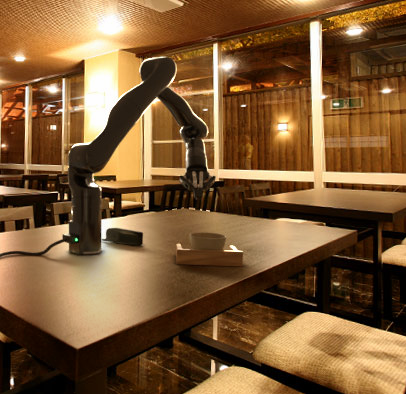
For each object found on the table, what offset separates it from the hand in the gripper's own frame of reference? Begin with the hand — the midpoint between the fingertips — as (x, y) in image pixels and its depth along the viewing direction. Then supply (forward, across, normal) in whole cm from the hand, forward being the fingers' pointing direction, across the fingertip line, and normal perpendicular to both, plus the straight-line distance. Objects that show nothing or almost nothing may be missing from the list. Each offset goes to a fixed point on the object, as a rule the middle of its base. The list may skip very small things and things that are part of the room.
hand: (198, 198), depth 134 cm
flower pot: (+28, 0, -5) cm, 28 cm away
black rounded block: (+14, -26, +8) cm, 30 cm away
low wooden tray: (+28, 0, -6) cm, 28 cm away
